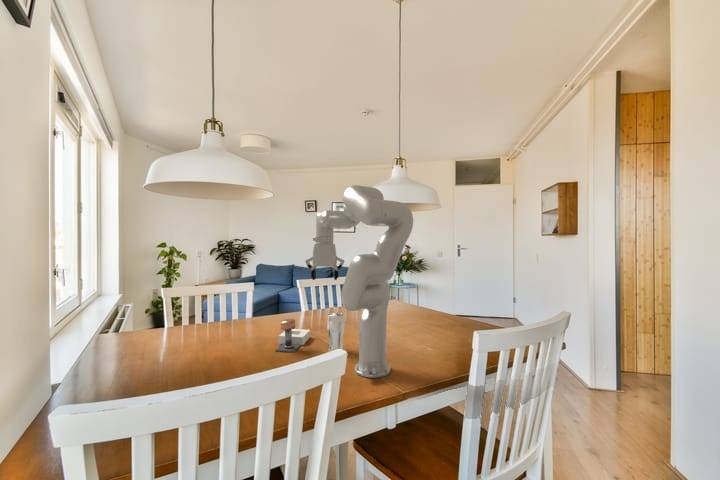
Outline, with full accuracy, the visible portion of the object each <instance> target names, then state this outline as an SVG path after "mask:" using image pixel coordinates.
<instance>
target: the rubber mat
mask: <svg viewBox="0 0 720 480" xmlns="http://www.w3.org/2000/svg"><path fill="white" fill-rule="evenodd" d="M284 345H285V344H280V345H279V346H278V347H277V348H276V349H275V352H277V353H279V352H280V353H291V354H292V353H296V352H297V351H298V349H299V348H301V346H302V345H300V344H293V347H292V348H289V349H286V348H284Z"/></svg>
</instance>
